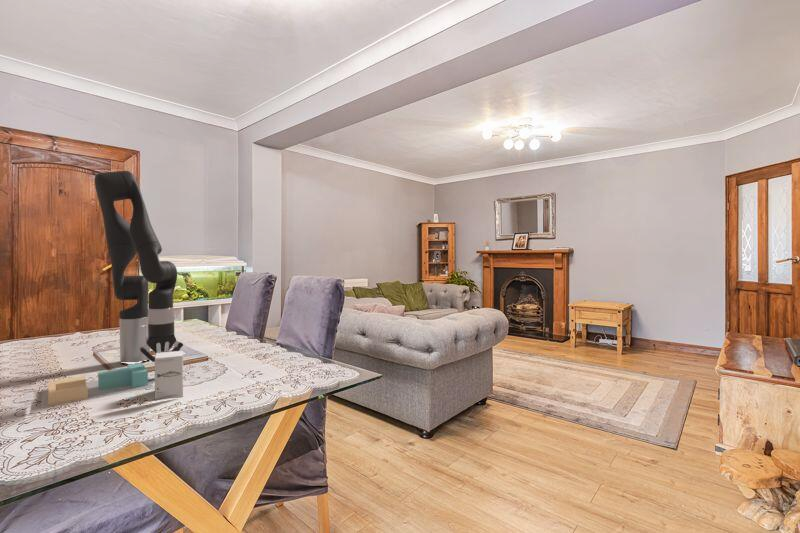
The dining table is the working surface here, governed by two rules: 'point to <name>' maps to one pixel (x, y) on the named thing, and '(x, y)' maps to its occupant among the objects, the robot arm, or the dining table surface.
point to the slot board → (96, 392)
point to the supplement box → (169, 375)
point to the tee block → (124, 377)
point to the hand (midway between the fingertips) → (162, 372)
